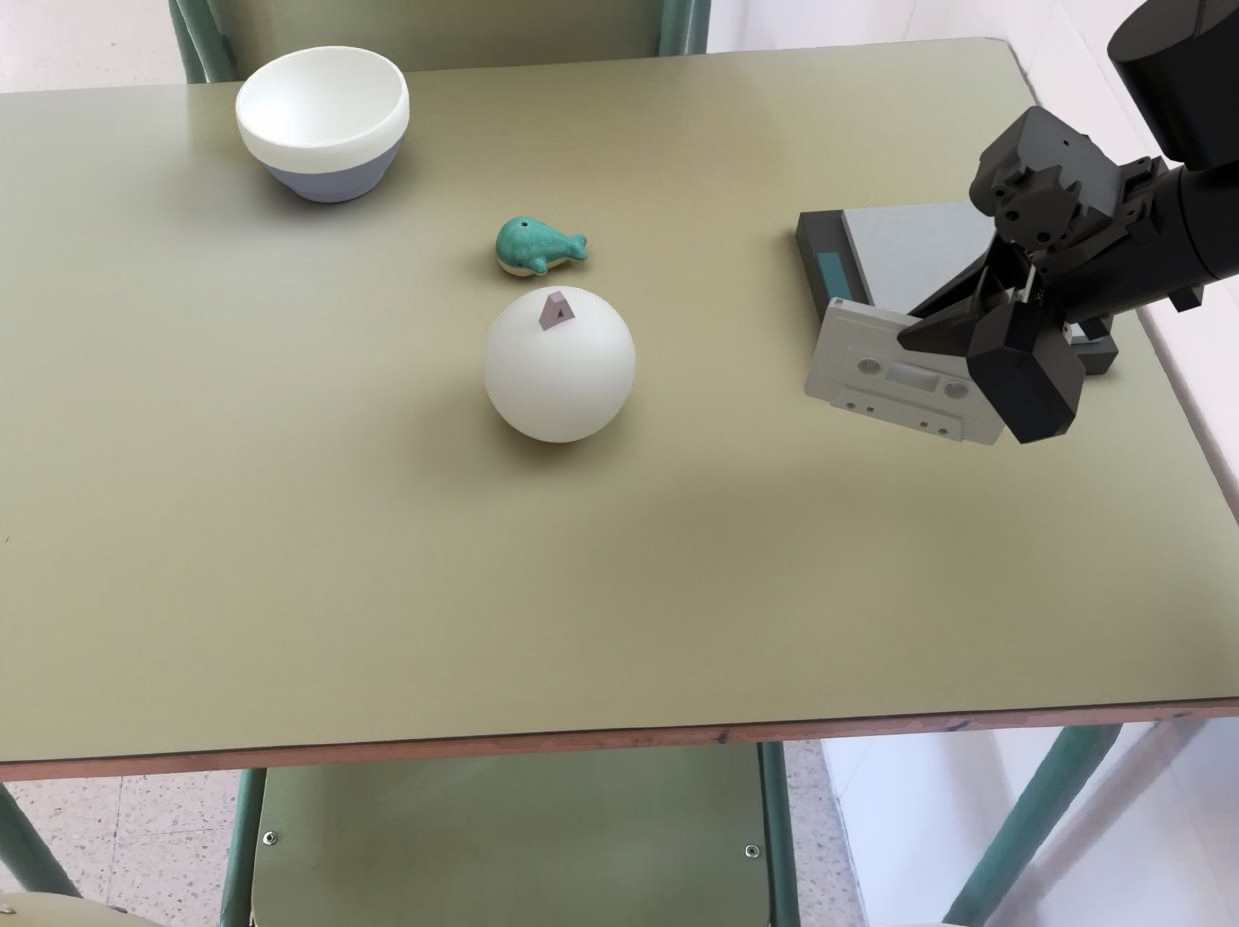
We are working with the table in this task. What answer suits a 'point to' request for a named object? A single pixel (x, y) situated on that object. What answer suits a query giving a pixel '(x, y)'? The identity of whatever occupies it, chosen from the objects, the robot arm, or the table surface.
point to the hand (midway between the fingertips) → (903, 333)
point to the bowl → (325, 120)
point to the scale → (906, 259)
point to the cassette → (896, 376)
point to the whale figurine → (536, 247)
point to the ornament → (559, 363)
